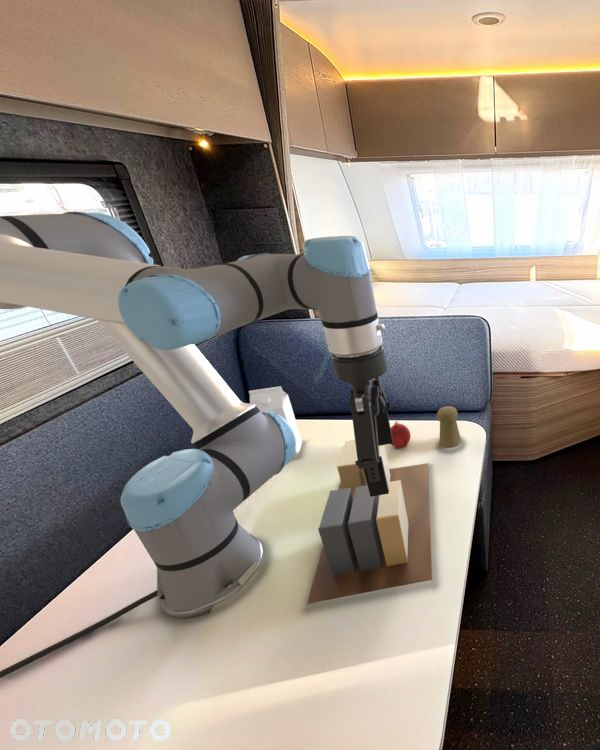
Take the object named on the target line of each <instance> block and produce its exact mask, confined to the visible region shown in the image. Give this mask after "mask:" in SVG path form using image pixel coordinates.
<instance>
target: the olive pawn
mask: <svg viewBox="0 0 600 750" xmlns="http://www.w3.org/2000/svg"><path fill="white" fill-rule="evenodd" d="M436 417H437V420H438V422H439V442H438V443H439V445H440V446H441V447H442V448H445V449H452V448H456V447H458V446H459V445H460V444H461V443H462V438H461V434H460V430H459V427H458V422H457V420H458V417H459V413H458V410H457V409H456V408H455V407H454V406H450V405H449V406H443V407H441V408H440V409H438V411H437V413H436Z"/></svg>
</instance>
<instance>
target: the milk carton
mask: <svg viewBox="0 0 600 750" xmlns="http://www.w3.org/2000/svg"><path fill="white" fill-rule="evenodd" d="M248 394H249V404H255V405H256V406H257V408H258V409H259V410H260V411H272V412H274V413H276V416H277V415H280V416H281V417H283V418H284V419H285V420H286V421H287V423H288V424H289V425H290V427H291V429H292V431H293V433H294V436H295V440H296V447H295V454H294V456H295V455H298V454H299V452H301V448H302V444H303V440H302V437H301V433H300V429H299V426H298V423H297V420H296V417H295V416H296V415H295V414H294V410H293V406H292V403H291V400H290V397H289V393H287V392H285V391H284V390H283V388H282V386H281V385H280V386H274V387H267V388H260V389H255V390H254V389H253V390H249V391H248Z"/></svg>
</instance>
